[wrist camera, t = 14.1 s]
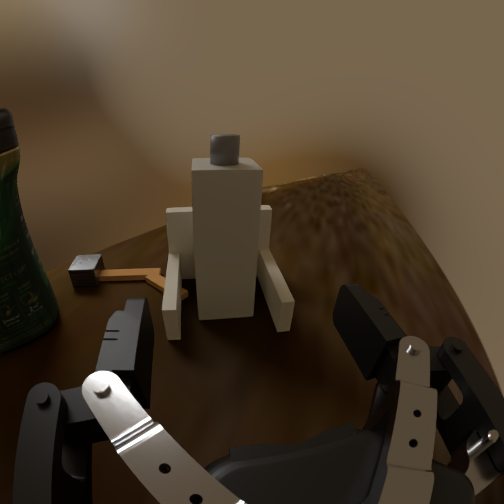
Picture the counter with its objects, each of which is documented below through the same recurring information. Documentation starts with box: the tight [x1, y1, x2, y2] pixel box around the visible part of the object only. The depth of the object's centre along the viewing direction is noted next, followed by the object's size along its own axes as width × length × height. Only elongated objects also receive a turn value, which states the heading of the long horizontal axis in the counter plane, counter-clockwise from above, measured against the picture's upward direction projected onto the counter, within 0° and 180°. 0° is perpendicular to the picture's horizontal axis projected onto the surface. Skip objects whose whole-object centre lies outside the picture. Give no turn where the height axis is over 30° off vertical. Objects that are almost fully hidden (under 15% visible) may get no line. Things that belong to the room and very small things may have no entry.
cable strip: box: [99, 268, 189, 301], centre depth 25 cm, size 10×5×1 cm, turn 101°
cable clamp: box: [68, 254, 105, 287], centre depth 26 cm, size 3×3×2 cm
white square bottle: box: [192, 134, 263, 320], centre depth 21 cm, size 4×4×14 cm
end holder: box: [162, 205, 295, 340], centre depth 23 cm, size 10×9×7 cm
